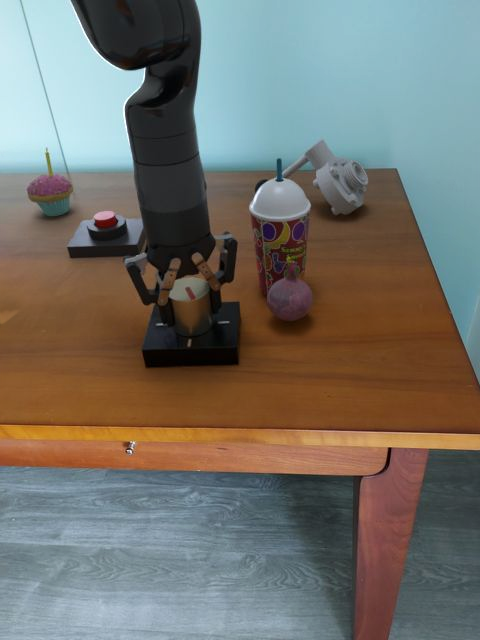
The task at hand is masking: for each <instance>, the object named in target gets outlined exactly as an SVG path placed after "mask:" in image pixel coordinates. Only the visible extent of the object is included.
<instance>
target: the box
mask: <svg viewBox="0 0 480 640" xmlns="http://www.w3.org/2000/svg"><path fill="white" fill-rule="evenodd" d="M115 216H116V220H117V224H116V225H114V226H112V227H108V228H97V227H96V224H95V220H94V217H93V218H92V219H85V220H84V219H83V220H81V222H80V223H79V225H78V227H77V228H76V230H75V232H74V234H73V235H72V237H71V239H70V241H69V242H68V244H67V246H66V249H67V252H68V254H69V255H68V256H69V258H70V259H85V258H86V259H87V258H115V257H116V258H117V257H125V256H128V255H129V256H131V257H135V256H138V255H140V254H142V251H143V247H144V245H145V242H146V237H145V232H144V227H143V222H142V217H140V218H136V217H135V218H125V217H124V216H123V215H120V214H117V213H115Z"/></svg>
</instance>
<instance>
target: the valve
mask: <svg viewBox="0 0 480 640" xmlns="http://www.w3.org/2000/svg"><path fill="white" fill-rule="evenodd" d="M303 153H304V154H303V155H302V156H300V157H299V158H297V159H296V160H295V161H294V162H292V164H290V165H289V166H288V167H287V168H285V169H284V170H282V178H285V179H289V177H290V176H292V175H293V174H294V173H295V172H297V171H298V170H300V169H301V168H302V167H303V166H305V165H306V164H307V163H310V164H311V166H312V167H313V169H314V170H315V177H316V178H315V179H314V180H313V181H312V184H313V186H314V187H315V188H316V189H317V190H319V189H320V192H321V194H322V195H323V197H324V199H325V200H326V201H327V203H328V204H329V206H330V207H331V212H332V214H333V215H334V216H338V215H340V214H342V215H346V216H347V215H349V214H351V213H353V212H354V211H355V210H357V209H358V208H360V207H361V206H362V205H363V204H364V199H365V197H364V194H365V193H367V189H366V187H367V185H368V184H369V177H368V175H367V172H366V170H365V168H364V167H363V166H362V165H361V164H360V162H358V161H357V160H355V159H352V160H349V161H348V159H347V158H346V157H345V156H342V157H341V158H339V157H337V156H335V155H334V153H333V152H332V151H331V149H330V148H329V146H328V144H327V143H326V141H325V140H324V139H323V138H320V139H319V140H318V141H317V142H316V143H314V144H313V145H312V146H311V147H309V148H308V149H307V150H306V151H304V152H303ZM275 178H277V176H276V177H274V178H273V179H275ZM269 180H270V179H266V178H263V179H261V180H259V181H258V182H257V183H256V184H255V187H254V195H255V194H256V192H257V190H258V189H259V188H260V187H261V185H263V184H264V183H265V182H267V181H269Z"/></svg>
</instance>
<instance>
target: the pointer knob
mask: <svg viewBox="0 0 480 640" xmlns="http://www.w3.org/2000/svg"><path fill="white" fill-rule="evenodd" d="M168 302H169V303H170V307H171V313H172V318H173V323H174V326H173V330H174V331H175V332H176V333H178V334H180V335H183V336H197V335H201V334H203V333H205V332H207V331H208V330H210V328H211V327H212V325H213V315H212V307H211V299H210V290H209V285H208V283H207V281H206V280H204V279H202V278H199V277H183V278H181V279H177V280H175V282H174V286H173V289H172V290H171V291H170V294H169V298H168Z"/></svg>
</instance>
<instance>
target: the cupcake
mask: <svg viewBox="0 0 480 640" xmlns="http://www.w3.org/2000/svg"><path fill="white" fill-rule="evenodd" d="M45 150H46V151H45V152H44V153H45V160H46V166H47V171H48V174H42V175H39V176H38V177H36V178H35V179H34V180H33V181H31V182H30V183H29V185H28V187H27V189H26V191H27V198H28V199H29V200H30V201H31V202H33V203H35V204H37V205H38V206H39V208H40V209H41V210H42V212H43V213H44V215H45V216H48V217H59V216H63V215H64V214H66V213H68V211H69V210H70V198H71V195H72V193H73V192H74V187H73V184H72V181H71V180H70V179H68V178H67V177H65V176H63V175H60V174H56V173H55V174H54V173H53V169H52V168H53V167H52V163H51V157H50V152H49V151H48V146H47V147H45Z"/></svg>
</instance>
